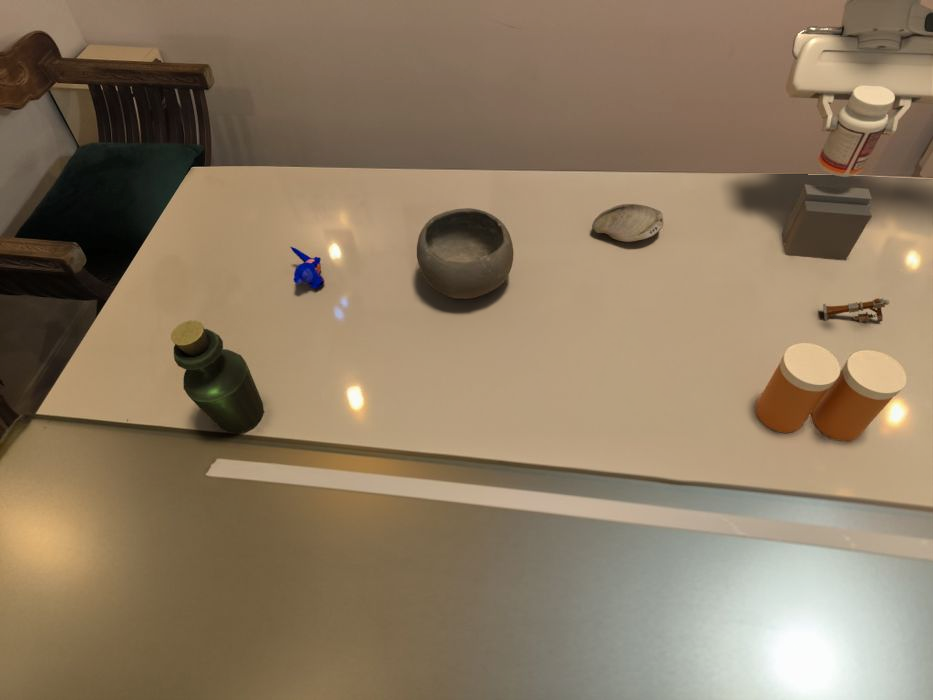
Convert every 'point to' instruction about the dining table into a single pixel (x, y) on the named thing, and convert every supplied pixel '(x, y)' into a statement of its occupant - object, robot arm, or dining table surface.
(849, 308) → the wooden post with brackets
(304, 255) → the figurine
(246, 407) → the potion bottle
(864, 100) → the pill bottle
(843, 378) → the matching pill bottles
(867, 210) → the grey boxes
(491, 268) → the bowl
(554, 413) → the dining table surface
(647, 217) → the seashell
